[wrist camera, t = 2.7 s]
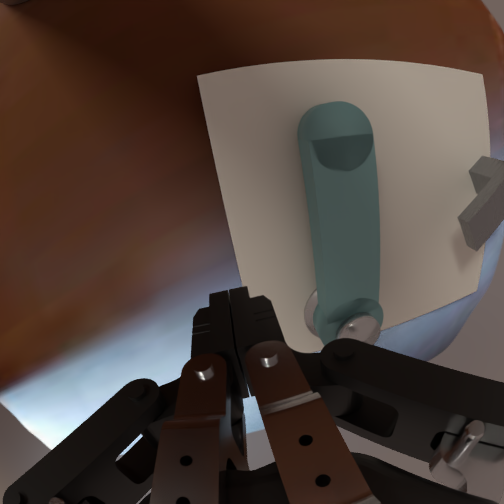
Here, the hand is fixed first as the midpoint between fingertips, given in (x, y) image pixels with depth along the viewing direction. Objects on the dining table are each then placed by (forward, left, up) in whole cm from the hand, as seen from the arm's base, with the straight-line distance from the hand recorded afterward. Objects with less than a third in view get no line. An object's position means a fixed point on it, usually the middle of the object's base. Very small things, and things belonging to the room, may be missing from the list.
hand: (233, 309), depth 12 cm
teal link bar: (+1, +7, -7) cm, 11 cm away
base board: (+1, +12, -10) cm, 16 cm away
